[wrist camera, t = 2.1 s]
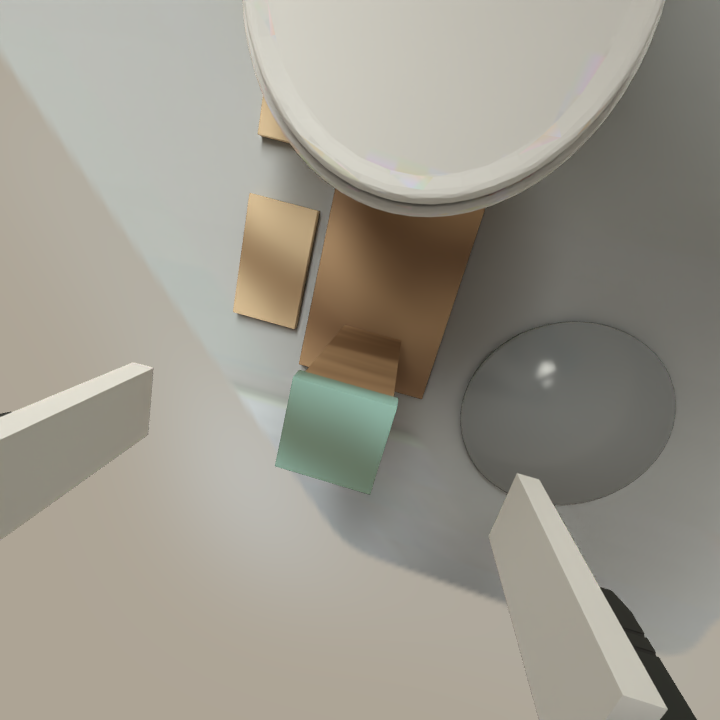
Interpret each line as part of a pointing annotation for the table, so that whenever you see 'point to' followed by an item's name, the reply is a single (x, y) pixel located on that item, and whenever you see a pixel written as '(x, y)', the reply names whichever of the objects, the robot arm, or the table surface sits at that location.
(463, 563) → the table surface
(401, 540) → the table surface
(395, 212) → the coffee cup
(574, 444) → the coaster
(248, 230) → the broken strip
